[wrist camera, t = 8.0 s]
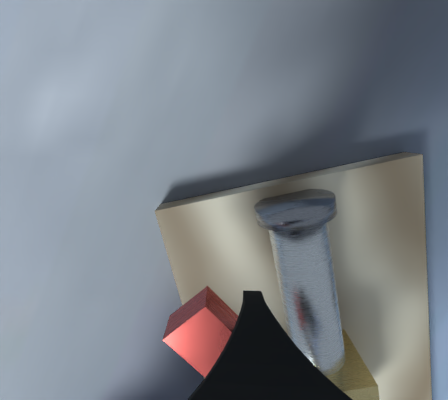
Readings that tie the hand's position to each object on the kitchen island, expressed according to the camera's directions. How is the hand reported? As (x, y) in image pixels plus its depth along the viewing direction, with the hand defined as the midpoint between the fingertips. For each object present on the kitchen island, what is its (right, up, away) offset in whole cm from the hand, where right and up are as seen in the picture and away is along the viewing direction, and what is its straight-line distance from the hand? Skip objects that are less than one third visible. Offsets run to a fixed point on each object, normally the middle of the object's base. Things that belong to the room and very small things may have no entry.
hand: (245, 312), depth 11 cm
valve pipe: (+5, -7, +9) cm, 12 cm away
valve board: (+5, -7, +9) cm, 12 cm away
